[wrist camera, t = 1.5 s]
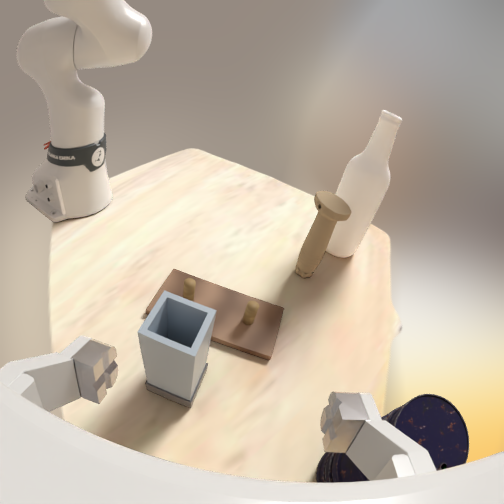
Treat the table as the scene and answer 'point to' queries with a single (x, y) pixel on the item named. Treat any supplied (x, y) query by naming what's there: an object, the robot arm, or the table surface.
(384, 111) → the alcohol
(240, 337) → the pin board
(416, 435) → the black cylinder
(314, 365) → the table surface
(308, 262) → the handle
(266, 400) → the table surface
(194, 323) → the sleeve
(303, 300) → the table surface
